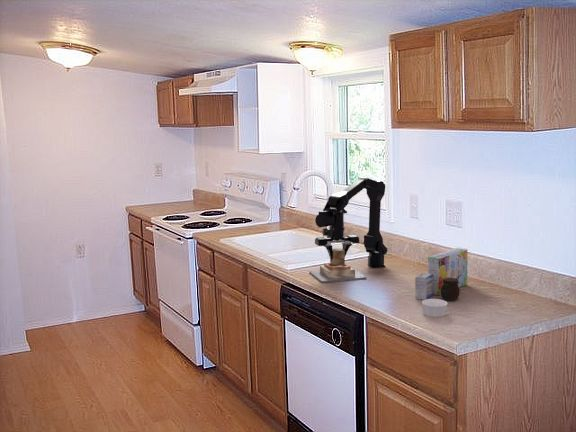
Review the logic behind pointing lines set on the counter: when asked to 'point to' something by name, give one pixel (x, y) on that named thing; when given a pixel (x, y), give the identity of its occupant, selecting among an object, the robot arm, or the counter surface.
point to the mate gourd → (450, 289)
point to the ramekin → (434, 307)
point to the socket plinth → (337, 270)
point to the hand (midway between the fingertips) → (337, 259)
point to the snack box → (448, 267)
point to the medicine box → (424, 286)
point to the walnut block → (338, 256)
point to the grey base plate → (324, 279)
